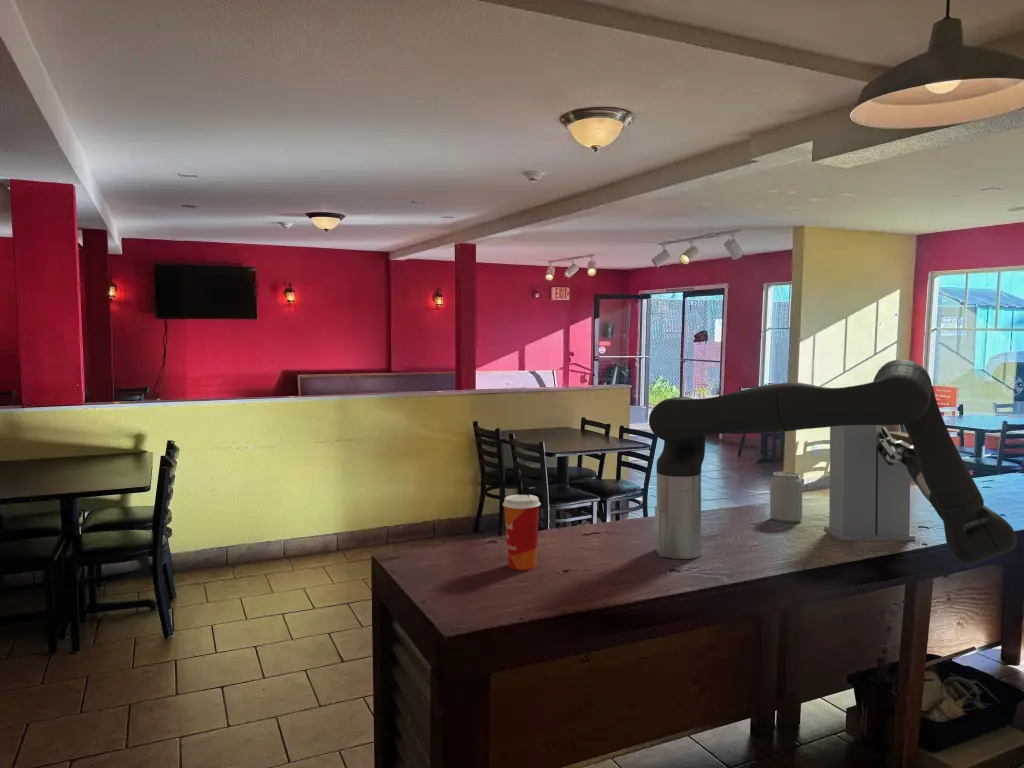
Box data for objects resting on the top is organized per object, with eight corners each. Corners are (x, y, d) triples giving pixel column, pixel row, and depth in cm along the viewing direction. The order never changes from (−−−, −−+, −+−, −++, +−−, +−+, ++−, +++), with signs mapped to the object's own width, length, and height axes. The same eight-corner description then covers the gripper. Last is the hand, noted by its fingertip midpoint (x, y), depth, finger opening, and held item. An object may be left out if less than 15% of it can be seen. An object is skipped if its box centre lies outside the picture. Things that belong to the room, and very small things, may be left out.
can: (797, 525, 173) (797, 476, 172) (766, 521, 177) (766, 473, 177) (805, 519, 179) (805, 472, 178) (775, 515, 183) (775, 469, 183)
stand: (841, 540, 159) (843, 398, 157) (824, 529, 169) (825, 395, 167) (915, 540, 158) (917, 397, 156) (893, 529, 168) (894, 394, 166)
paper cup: (507, 559, 148) (506, 493, 147) (543, 561, 146) (542, 494, 146) (500, 571, 140) (499, 501, 139) (538, 573, 139) (537, 502, 138)
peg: (902, 450, 150) (902, 428, 150) (867, 441, 166) (867, 420, 166) (925, 450, 150) (925, 428, 150) (888, 440, 166) (888, 420, 166)
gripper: (980, 464, 138) (940, 416, 152) (905, 464, 139) (873, 416, 153) (968, 493, 143) (930, 443, 156) (895, 493, 143) (864, 444, 157)
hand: (902, 430), depth 154 cm, fingers open, 8 cm apart
